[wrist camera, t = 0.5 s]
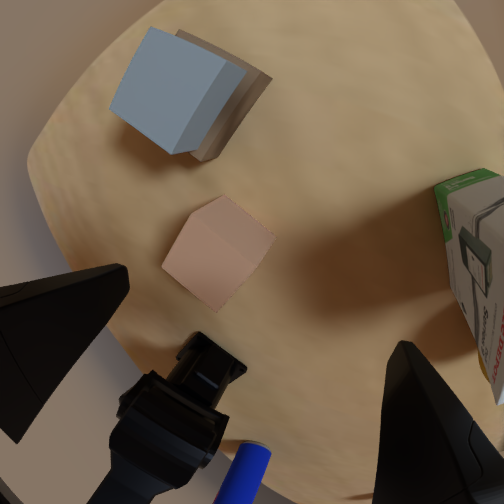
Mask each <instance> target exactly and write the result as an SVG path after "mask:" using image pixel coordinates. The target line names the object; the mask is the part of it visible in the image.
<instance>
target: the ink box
mask: <svg viewBox="0 0 504 504" xmlns="http://www.w3.org/2000/svg"><path fill="white" fill-rule="evenodd" d="M434 191H435V195H436V199H437V204H438V208H439V213H440V218H441V223H442V228H443V234H444V239H445V246H446V252H447V260H448V268H449V278H450V287H451V289H452V291H453V293H454V295H455V297H456V299H457V301H458V303H459V306H460V308H461V310H462V312H463V314H464V316H465V318H466V320H467V323H468V325H469V327H470V330H471V332H472V334H473V337H474V339H475V341H476V344H477V347H478V349H479V352H480V355H481V357H482V360H483V363H484V366H485V368H486V371H487V375H488V378H489V381H490V384H491V388H492V391H493V395H494V398H495V403H496V405H500V404H502V403H504V176H501V175H499V174H496V173H494V172H492V171H489V170H487V169H485V168H483V169H480V170H477V171H474V172H471V173H467V174H464V175H461V176H458V177H455V178H453V179H450V180H448V181H445V182H443V183H440V184H438V185H436V186H435V187H434Z"/></svg>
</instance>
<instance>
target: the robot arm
mask: <svg viewBox="0 0 504 504" xmlns="http://www.w3.org/2000/svg"><path fill="white" fill-rule="evenodd" d="M129 289H130V284H129V276H128V269H127V267H126V266H124V265H121V264H118V263H115V264H110V265H105V266H100V267H95V268H90V269H85V270H80V271H75V272H71V273H66V274H61V275H57V276H52V277H47V278H42V279H38V280H34V281H30V282H23V283H19V284H14V285H9V286H3V287H0V428H1V429H2V430H3V431H4V432H5V433H6V434H7V435H8V436H9V437H10V438H11V439H12V440H13V441H14V442H15V443H16V444H18V443H19V442H20V440H21V439H22V437H23V436H24V434H25V433H26V431H27V430H28V428H29V426H30V425H31V424H32V422H33V421H34V419H35V418H36V416H37V415H38V413H39V412H40V410H41V409H42V408H43V406H44V404H45V403H46V401H47V400H48V399H49V397H50V396H51V395H52V393H53V392H54V391H55V389H56V388H57V386H58V385H59V384H60V382H61V381H62V380H63V378H64V377H65V376H66V374H67V373H68V372H69V371H70V369H71V368H72V366H73V365H74V364H75V363H76V361H77V360H78V359H79V358H80V356H81V355H82V354H83V352H84V351H85V350H86V349H87V348H88V346H89V345H90V343H91V342H92V341H93V340H94V339H95V338H96V336H97V335H98V334H99V333H100V331H101V330H102V329H103V328H104V327H105V325H106V324H107V323H108V321H109V320H110V319H111V317H112V316H113V314H114V313H115V311H116V310H117V308H118V307H119V305H120V304H121V302H122V301H123V300H124V298H125V297H126V295H127V294H128V292H129ZM176 359H177V360H178V361H179V362H178V363H177V365H176V366H175V367H174V369H173V370H172V371H171V373H170V374H169V375H168V377H167V378H166V380H165V379H164V378H162V377H161V376H160V375H158V374H157V372H155V371H154V370H152V371H151V372H150V373H149V374H144V375H143V376H142V377H141V378H140V380H139V381H138V382H137V383H136V384H135V385H134V386H133V387H131V388H130V389H129V390H128V391H126V392H125V393H124V394H122V395H121V396H120V398H119V404H120V406H119V409H118V412H117V414H116V417H117V418H118V419H120V420H119V422H118V423H117V425H116V426H115V428H114V429H113V431H112V433H111V435H110V439H109V448H110V450H111V469H110V471H109V472H108V474H107V475H106V477H105V478H104V480H103V481H102V482H101V484H100V485H99V487H98V488H97V490H96V491H95V492H94V494H93V495H92V497H91V498H90V499H89V501H88V502H87V504H150V503H151V501H152V500H153V498H154V497H155V496H156V495H158V494H161V493H164V492H166V491H169V490H171V489H173V488H174V489H178V488H180V487H182V486H184V485H186V484H187V483H188V482H189V481H190V479H191V478H192V476H193V475H194V473H195V472H196V470H197V469H198V468H200V469H203V468H205V467H206V466H207V464H208V463H209V462H210V461H211V459H212V458H213V456H214V455H215V453H216V451H217V449H218V447H219V445H220V442H221V439H222V437H223V434H224V431H225V429H226V426H227V423H228V420H229V418H230V417H229V416H227V415H226V414H222V413H220V412H218V411H216V410H215V408H216V406H217V404H218V402H219V400H220V399H221V397H222V395H223V393H224V391H225V389H226V387H227V385H228V384H229V383H231V382H232V381H234V380H235V379H237V378H238V377H240V376H241V375H243V374H244V373H246V371H247V367H246V366H245V365H244V364H243V363H241V362H240V361H238V360H237V359H236V358H234V357H233V356H232V355H230V354H229V353H227V352H226V351H225V350H223V349H222V348H221V347H219V346H218V345H217V344H216V343H214V342H213V341H212V340H210V339H209V338H208V337H207V336H205V335H204V334H203V333H200V332H198V333H197V334H196V335H195V336H194V337H193V338H192V339H191V340H190V341H189V343H188V344H187V345H186V346H185V347H184V348H183V349H182V350H181V351H180V353H179V354H178V355H177V356H176ZM0 504H23V503H22V502H21V501H20V500H19V498H18V497H17V496H16V495H15V494H14V493H13V492H12V491H11V490H10V488H9V487H8V486H7V485H6V484H5V482H4V481H3V480H2V479H1V478H0ZM372 504H504V458H503V457H502V456H501V455H500V454H499V452H498V451H497V450H496V448H495V447H494V446H493V445H492V443H491V442H490V441H489V440H488V438H487V437H486V435H485V434H484V433H483V431H482V430H481V429H480V427H479V426H478V424H477V423H476V422H475V420H474V421H473V418H472V416H471V415H470V413H469V412H468V411H467V409H466V408H465V407H464V405H463V404H462V403H461V401H460V400H459V399H458V398H457V396H456V395H455V394H454V392H453V391H452V390H451V388H450V387H449V386H448V385H447V383H446V382H445V381H444V380H443V378H442V377H441V376H440V375H439V373H438V372H437V371H436V370H435V368H434V367H433V366H432V365H431V364H430V362H429V361H428V360H427V359H426V357H425V356H424V355H423V354H422V353H421V352H420V350H419V349H418V348H417V347H416V346H415V344H414V343H413V342H409V341H404V340H401V341H399V342H398V344H397V346H396V347H395V349H394V351H393V353H392V355H391V356H390V358H389V360H388V363H387V368H386V377H385V386H384V394H383V401H382V409H381V426H380V442H379V454H378V463H377V472H376V480H375V487H374V493H373V500H372Z"/></svg>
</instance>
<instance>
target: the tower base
mask: <svg viewBox="0 0 504 504" xmlns="http://www.w3.org/2000/svg"><path fill="white" fill-rule="evenodd" d="M175 36H177V37H179V38H182V39H184V40H186V41H189V42H191V43H193V44H195V45H197V46H200V47H202V48H204V49H206V50H208V51H210V52H212V53H214V54H216V55H218V56H220V57H222V58H224V59H226V60H228V61H229V62H231V63H233V64H235V65H237V66H239V67H240V68H242V69H244V70H246V71H247V73H246V74H245V75H244V77H243V78H242V80H241V81H240V83H239V84H238V86H237V87H236V89H235V90H234V91H233V93H232V94H231V96H230V97H229V99H228V101H227V102H226V104H225V105H224V107H223V108H222V110H221V111H220V113H219V114H218V116H217V118H216V119H215V121H214V122H213V124H212V126H211V127H210V129H209V131H208V132H207V134H206V136H205V137H204V139H203V141H202V142H201V144H200V146H199V147H198V149H197V150H192V151H187V152H188V153H190V154H191V155H192V156H194V157H195V158H196V159H198V160H199V161H200V162H202V161H205V160H209V159H213V158H217V157H218V156H219V155H220V153H221V152H222V150H223V149H224V147H225V146H226V144H227V143H228V141H229V140H230V138H231V137H232V135H233V134H234V132H235V131H236V129H237V128H238V126H239V125H240V123H241V122H242V120H243V119H244V118H245V116H246V115H247V113H248V112H249V111H250V109H251V108H252V106H253V105H254V104H255V102H256V101H257V99H258V98H259V97H260V95H261V94H262V93H263V91H264V90H265V88H266V87H267V86H268V84H269V83H270V82H271V81H272V79H273V78H271V77H270V76H268V75H267V74H265V73H264V72H262V71H260V70H259V69H257V68H255V67H254V66H252V65H250V64H249V63H247V62H245V61H243V60H241V59H240V58H238V57H236V56H234V55H232V54H230V53H229V52H227V51H225V50H223V49H221V48H219V47H217V46H215V45H213V44H211V43H209V42H207V41H205V40H202V39H200V38H198V37H196V36H194V35H191V34H189V33H187V32H185V31H182V30H180V29H179V30H178V32H177V33H176V35H175Z"/></svg>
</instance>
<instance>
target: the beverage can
mask: <svg viewBox="0 0 504 504" xmlns="http://www.w3.org/2000/svg"><path fill="white" fill-rule="evenodd" d="M270 457H271V451H270V449H269V448H268V447H267V446H266V445H264V444H261V443H258V442H254V441H246V442H244V443H242V444H241V445H240V447H239V449H238V451H237V453H236V455H235V458H234V460H233V462H232V464H231V466H230V469H229V471H228V473H227V475H226V477H225V479H224V481H223V483H222V485H221V487H220V490H219V491H218V494H217V496H216V498H215V500H214V502H213V504H252V503H253V500H254V498H255V495H256V493H257V491H258V488H259V485H260V483H261V481H262V478H263V475H264V473H265V470H266V467H267V465H268V462H269V459H270Z"/></svg>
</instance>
